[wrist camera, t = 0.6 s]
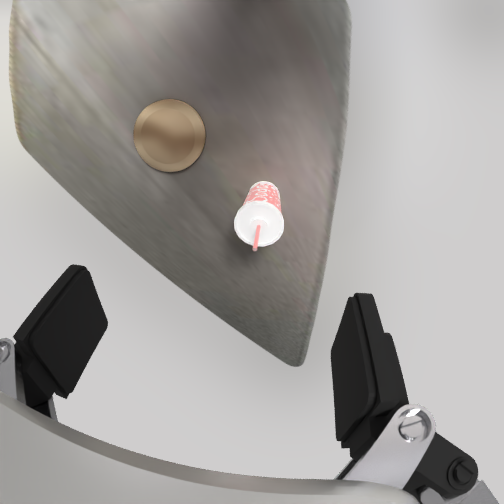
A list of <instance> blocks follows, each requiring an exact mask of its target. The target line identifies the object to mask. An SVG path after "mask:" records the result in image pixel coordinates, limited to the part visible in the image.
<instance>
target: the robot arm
mask: <svg viewBox="0 0 504 504" xmlns="http://www.w3.org/2000/svg"><path fill="white" fill-rule="evenodd" d="M107 326H108V321H107V318H106V315H105V313H104V310H103V308H102V305H101V302H100V300H99V297H98V294H97V292H96V289H95V286H94V283H93V280H92V277H91V275H90V272H89V271H88V270H87V268H86V267H85V266H80V265H70V266H69V267H68V269H67V270H66V271H65V272H64V273H63V274H62V275H61V276H60V278H59V279H58V280H57V281H56V282H55V283H54V285H53V286H52V287H51V288H50V289H49V291H48V292H47V293H46V294H45V295H44V297H43V298H42V299H41V300H40V302H39V303H38V304H37V305H36V307H35V308H34V309H33V310H32V312H31V313H30V315H29V316H28V317H27V318H26V320H25V321H24V322H23V324H22V325H21V326H20V328H19V329H18V330H17V332H16V333H15V335H14V336H13V337H14V339H15V340H16V344H15V345H14V343H13V342H12V340H10V339H7V338H3V339H0V504H499V503H498V501H497V500H496V498H495V497H494V496H493V494H492V493H491V491H490V490H489V489H488V487H487V486H486V484H485V483H484V482H483V481H482V480H481V481H478V479H477V477H478V467H477V464H476V462H475V460H474V459H473V458H472V457H471V456H469V455H468V454H466V453H465V452H463V451H462V450H461V449H459V448H458V447H456V446H454V445H453V444H452V443H450V442H449V441H447V440H446V439H445V438H443V437H442V436H440V435H439V434H437V433H436V432H435V431H436V423H435V420H434V417H433V415H432V414H431V412H430V411H429V410H427V409H426V408H425V407H423V406H421V405H418V404H409V401H408V397H407V392H406V388H405V384H404V379H403V375H402V372H401V367H400V364H399V360H398V356H397V352H396V349H395V346H394V342H393V339H392V336H391V335H390V333H384V331H383V327H382V324H381V320H380V317H379V313H378V310H377V306H376V303H375V300H374V297H373V295H372V294H367V293H355V294H354V296H353V297H349V298H348V301H347V304H346V307H345V310H344V313H343V316H342V320H341V323H340V326H339V329H338V332H337V335H336V338H335V341H334V343H333V346H332V349H331V366H332V378H333V390H334V407H335V426H336V439H337V441H341V447H342V448H350V457H352V459H351V460H350V461H349V463H348V464H347V465H346V466H345V467H344V468H343V470H342V471H341V472H340V473H339V474H338V475H337V476H336V477H335V478H334V480H321V479H320V480H319V479H286V478H269V477H258V476H247V475H239V474H231V473H224V472H217V471H211V470H205V469H200V468H195V467H189V466H185V465H180V464H176V463H172V462H168V461H164V460H160V459H156V458H153V457H149V456H146V455H142V454H139V453H136V452H132V451H129V450H126V449H123V448H120V447H117V446H115V445H112V444H109V443H106V442H103V441H101V440H98V439H96V438H93V437H91V436H88V435H86V434H84V433H81V432H79V431H76V430H74V429H72V428H70V427H68V426H65V425H63V424H61V423H59V422H58V420H57V416H56V411H55V407H54V402H53V397H52V395H53V393H54V392H55V393H56V395H58V396H61V397H63V398H65V399H67V397H68V395H69V393H72V392H73V390H74V388H75V386H76V384H77V382H78V380H79V378H80V376H81V375H82V373H83V371H84V369H85V367H86V365H87V363H88V361H89V359H90V358H91V356H92V354H93V352H94V350H95V349H96V347H97V345H98V343H99V341H100V340H101V338H102V336H103V334H104V332H105V331H106V329H107Z"/></svg>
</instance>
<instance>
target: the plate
mask: <svg viewBox="0 0 504 504" xmlns="http://www.w3.org/2000/svg"><path fill="white" fill-rule="evenodd" d="M205 139H206V133H205V127H204V123H203V121H202V119H201V117H200V115H199V114H198V112H197V111H196V110H195V109H194V108H193V107H191V106H190V105H188V104H187V103H185V102H183V101H180V100H175V99H165V100H160V101H157V102H154V103H152V104H150V105H149V106H147V107H146V108H145V109H144V110H143V111H142V112H141V113H140V115H139V116H138V118H137V120H136V123H135V127H134V143H135V147H136V149H137V151H138V153H139V155H140V156H141V158H142V159H143V160H144V161H145V162H146V163H147V164H148V165H150V166H151V167H153V168H155V169H157V170H160V171H165V172H175V171H180V170H183V169H185V168H187V167H188V166H190V165H191V164H192V163H194V162H195V160H196V159H197V158H198V157H199V156H200V154H201V152H202V150H203V148H204V145H205Z"/></svg>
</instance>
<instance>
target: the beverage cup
mask: <svg viewBox="0 0 504 504" xmlns="http://www.w3.org/2000/svg"><path fill="white" fill-rule="evenodd" d="M234 228H235V231H236V233H237V235H238V237H240V238H241V239H242V240H243V241H244V242H245V243H248V244H250V245H253V251H257V246H263V247H264V246H267V245H271V244H273V243H274V242H276V241H277V240H278V239H279V238H280V237H281V235H282V233H283V230H284V219H283V216H282V214H281V205H280V193H279V191H278V189H277V187H276V186H275V185H274V184H272V183H270V182H267V181H260V182H257V183H255V184H254V185H253V186H252V187H251V188H250V191H249V193H248V195H247V197H246V199H245V202H244V204H243V206H242V207H241V208H240V209H239V210H238V212H237V215H236V217H235V219H234Z"/></svg>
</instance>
